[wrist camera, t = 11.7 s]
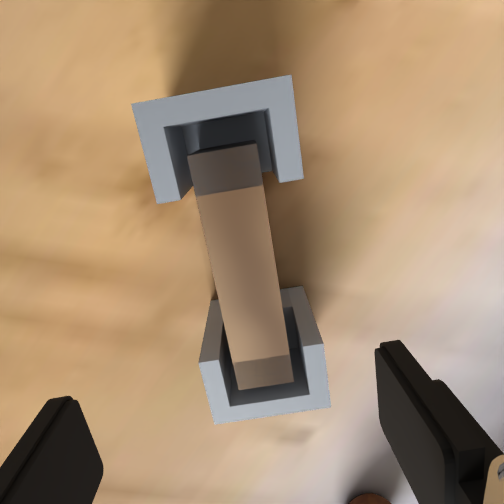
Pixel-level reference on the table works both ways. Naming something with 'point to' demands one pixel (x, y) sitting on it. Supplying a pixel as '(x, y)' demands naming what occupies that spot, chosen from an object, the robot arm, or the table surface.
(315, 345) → the post
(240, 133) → the post
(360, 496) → the wooden figurine
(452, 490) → the robot arm
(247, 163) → the rail
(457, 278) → the table surface
